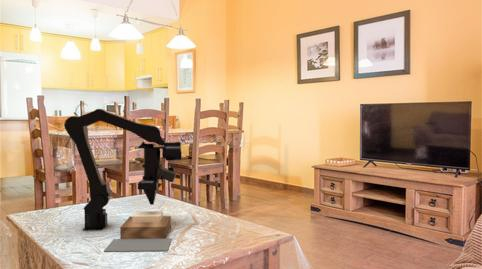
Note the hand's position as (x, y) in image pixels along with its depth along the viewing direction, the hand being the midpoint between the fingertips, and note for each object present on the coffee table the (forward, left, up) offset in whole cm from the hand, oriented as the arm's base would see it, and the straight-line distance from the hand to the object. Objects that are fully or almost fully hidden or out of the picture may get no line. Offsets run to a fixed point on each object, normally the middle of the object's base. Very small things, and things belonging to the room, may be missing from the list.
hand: (152, 204), depth 129 cm
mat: (0, -21, -7) cm, 22 cm away
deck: (0, -10, -7) cm, 12 cm away
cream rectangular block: (0, -8, -3) cm, 9 cm away
